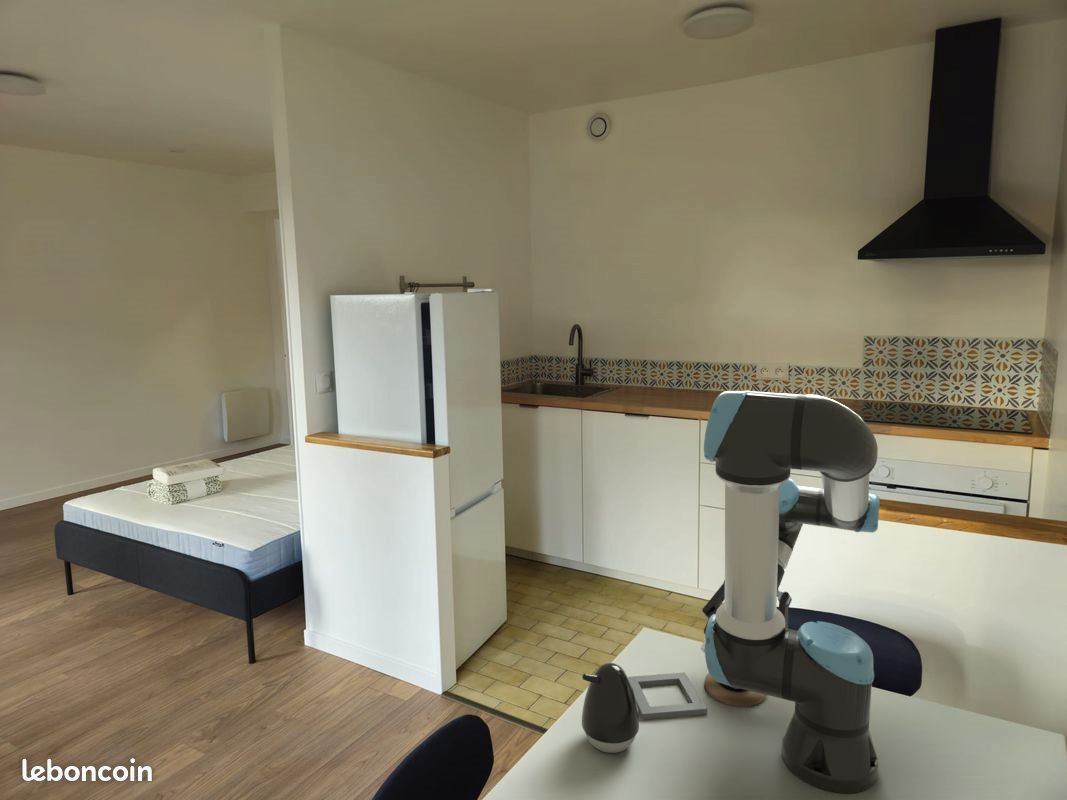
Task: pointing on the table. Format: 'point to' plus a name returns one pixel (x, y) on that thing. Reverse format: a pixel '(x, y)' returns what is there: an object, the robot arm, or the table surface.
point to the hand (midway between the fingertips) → (729, 661)
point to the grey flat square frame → (667, 711)
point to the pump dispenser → (610, 709)
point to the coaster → (732, 694)
